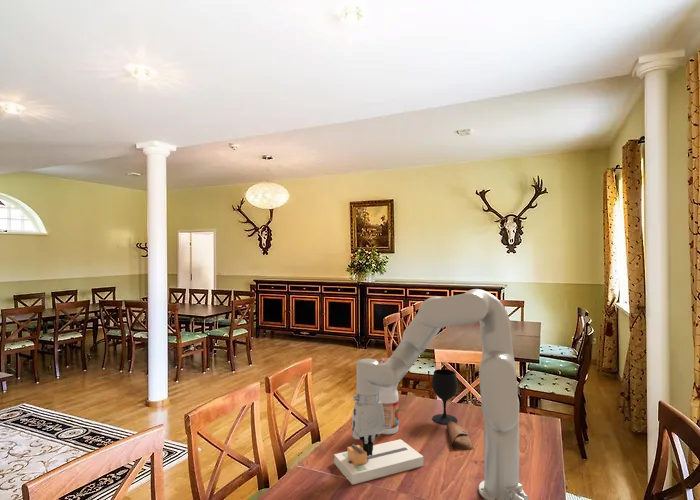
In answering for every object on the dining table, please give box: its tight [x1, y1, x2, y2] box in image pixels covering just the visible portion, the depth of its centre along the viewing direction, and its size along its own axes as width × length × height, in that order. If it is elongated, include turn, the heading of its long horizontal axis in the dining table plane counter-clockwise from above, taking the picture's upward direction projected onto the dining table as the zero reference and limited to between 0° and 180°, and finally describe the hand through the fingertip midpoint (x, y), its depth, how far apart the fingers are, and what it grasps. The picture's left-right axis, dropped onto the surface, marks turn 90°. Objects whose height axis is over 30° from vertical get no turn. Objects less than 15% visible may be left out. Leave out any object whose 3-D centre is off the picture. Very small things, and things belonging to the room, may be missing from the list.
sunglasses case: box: [446, 421, 475, 451], centre depth 156 cm, size 18×7×7 cm, turn 173°
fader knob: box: [346, 443, 367, 465], centre depth 133 cm, size 4×6×4 cm, turn 25°
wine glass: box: [431, 368, 458, 426], centre depth 173 cm, size 10×10×20 cm
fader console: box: [333, 438, 425, 486], centre depth 137 cm, size 26×14×3 cm, turn 115°
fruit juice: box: [379, 357, 400, 435], centre depth 163 cm, size 9×9×28 cm
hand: (367, 453), depth 135 cm, fingers closed
